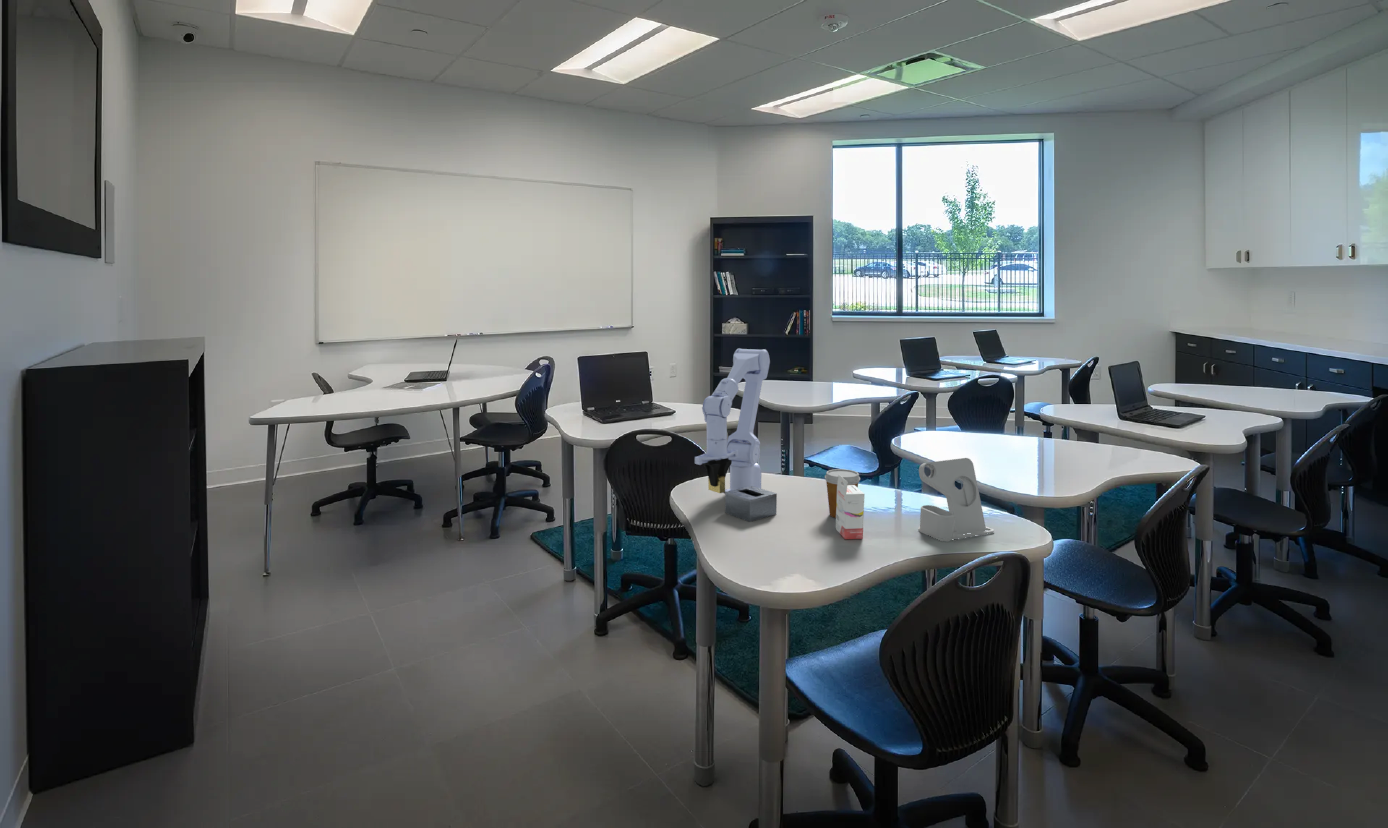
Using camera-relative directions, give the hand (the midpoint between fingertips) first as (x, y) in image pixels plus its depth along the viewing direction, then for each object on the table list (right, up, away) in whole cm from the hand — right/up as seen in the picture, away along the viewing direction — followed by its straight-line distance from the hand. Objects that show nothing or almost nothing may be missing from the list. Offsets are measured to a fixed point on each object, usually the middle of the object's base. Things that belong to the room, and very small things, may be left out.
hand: (717, 484), depth 203 cm
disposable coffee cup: (+34, -8, -8) cm, 36 cm away
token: (0, -2, 0) cm, 2 cm away
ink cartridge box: (+33, -10, -22) cm, 41 cm away
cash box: (+9, -7, -6) cm, 13 cm away
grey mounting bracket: (+60, -10, -21) cm, 64 cm away
